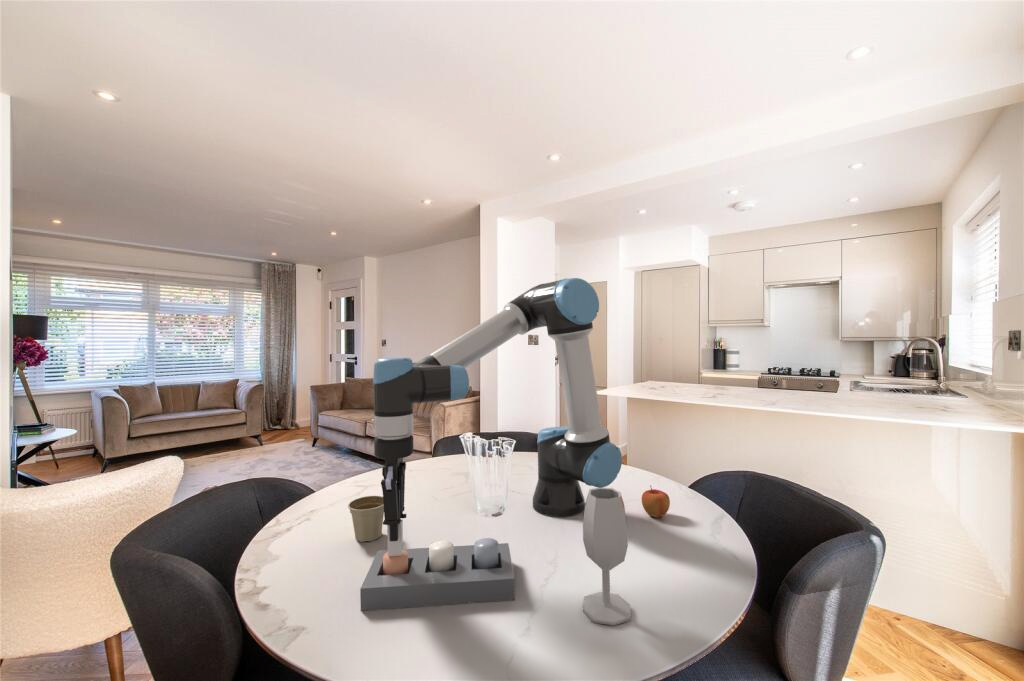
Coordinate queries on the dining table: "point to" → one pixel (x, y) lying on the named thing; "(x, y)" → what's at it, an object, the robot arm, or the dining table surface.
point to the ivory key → (441, 556)
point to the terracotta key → (395, 564)
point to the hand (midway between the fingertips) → (395, 554)
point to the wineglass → (605, 552)
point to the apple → (655, 502)
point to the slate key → (486, 553)
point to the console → (438, 581)
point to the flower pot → (367, 517)
